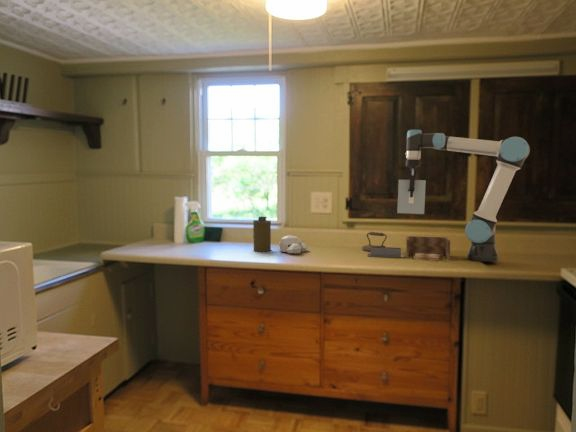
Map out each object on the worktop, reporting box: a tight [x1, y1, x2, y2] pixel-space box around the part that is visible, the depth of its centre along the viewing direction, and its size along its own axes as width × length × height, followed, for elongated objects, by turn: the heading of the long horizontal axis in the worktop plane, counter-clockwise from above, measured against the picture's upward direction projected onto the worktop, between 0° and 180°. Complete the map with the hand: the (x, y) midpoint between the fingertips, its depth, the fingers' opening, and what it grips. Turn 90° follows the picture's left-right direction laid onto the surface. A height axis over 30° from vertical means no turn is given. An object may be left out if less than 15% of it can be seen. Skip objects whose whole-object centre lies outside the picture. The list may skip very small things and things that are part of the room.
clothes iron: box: [361, 231, 388, 252], centre depth 268 cm, size 14×10×12 cm
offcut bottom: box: [413, 258, 443, 262], centre depth 244 cm, size 14×5×1 cm, turn 76°
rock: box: [278, 234, 309, 254], centre depth 270 cm, size 18×20×10 cm
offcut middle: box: [413, 255, 440, 261], centre depth 244 cm, size 13×5×1 cm, turn 73°
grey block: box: [367, 246, 405, 259], centre depth 254 cm, size 19×8×5 cm, turn 77°
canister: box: [252, 216, 272, 253], centre depth 274 cm, size 11×10×20 cm
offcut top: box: [415, 253, 440, 258], centre depth 244 cm, size 12×4×1 cm, turn 68°
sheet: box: [396, 179, 427, 215], centre depth 249 cm, size 14×2×18 cm, turn 76°
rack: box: [405, 235, 451, 261], centre depth 253 cm, size 22×15×10 cm
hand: (411, 203), depth 249 cm, fingers closed on sheet, 2 cm apart
